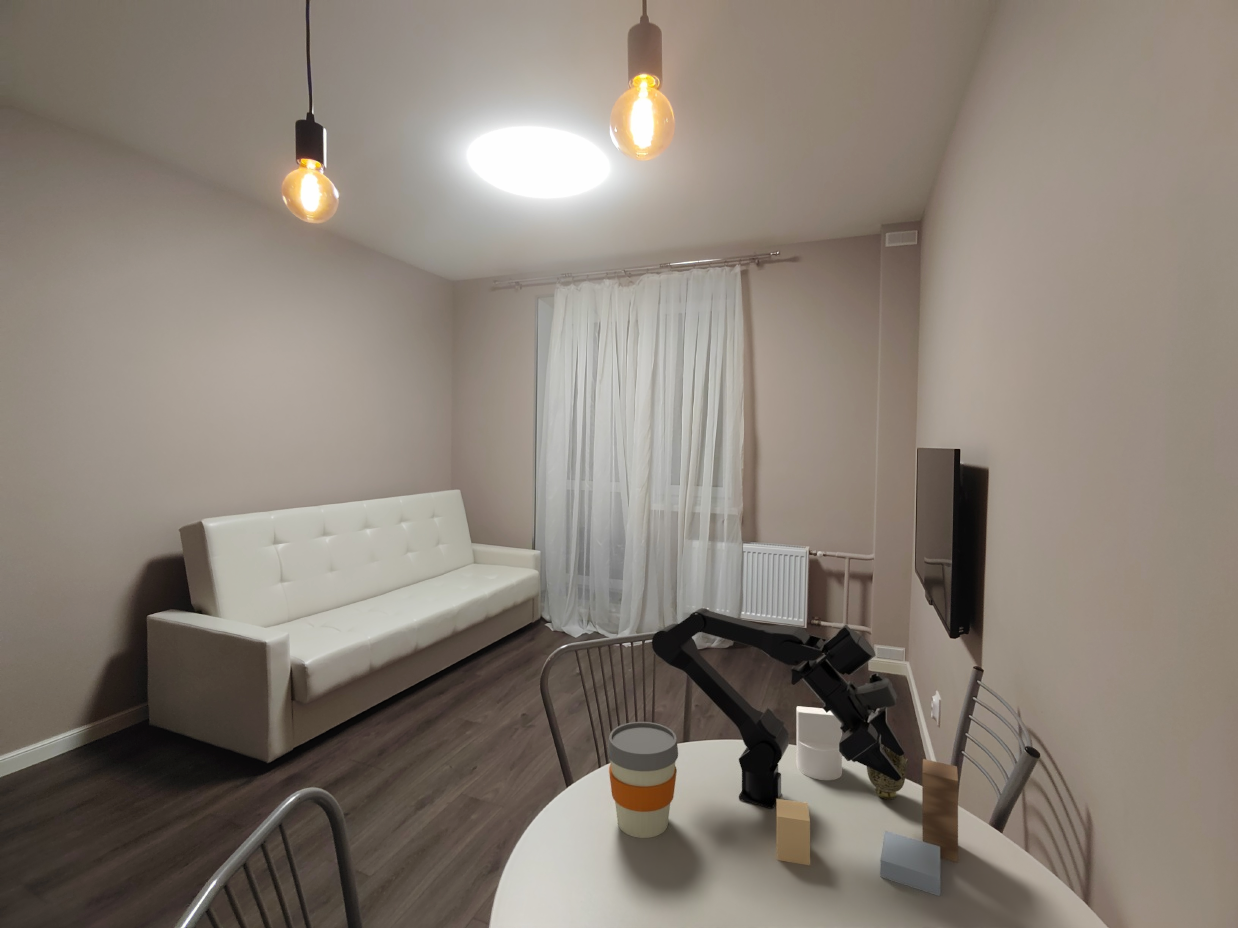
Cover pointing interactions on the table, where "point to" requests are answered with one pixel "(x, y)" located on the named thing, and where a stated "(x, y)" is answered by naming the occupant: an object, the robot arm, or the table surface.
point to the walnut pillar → (940, 807)
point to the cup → (885, 784)
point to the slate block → (911, 862)
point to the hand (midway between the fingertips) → (901, 766)
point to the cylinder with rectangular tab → (818, 743)
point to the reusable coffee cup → (642, 776)
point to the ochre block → (793, 832)
